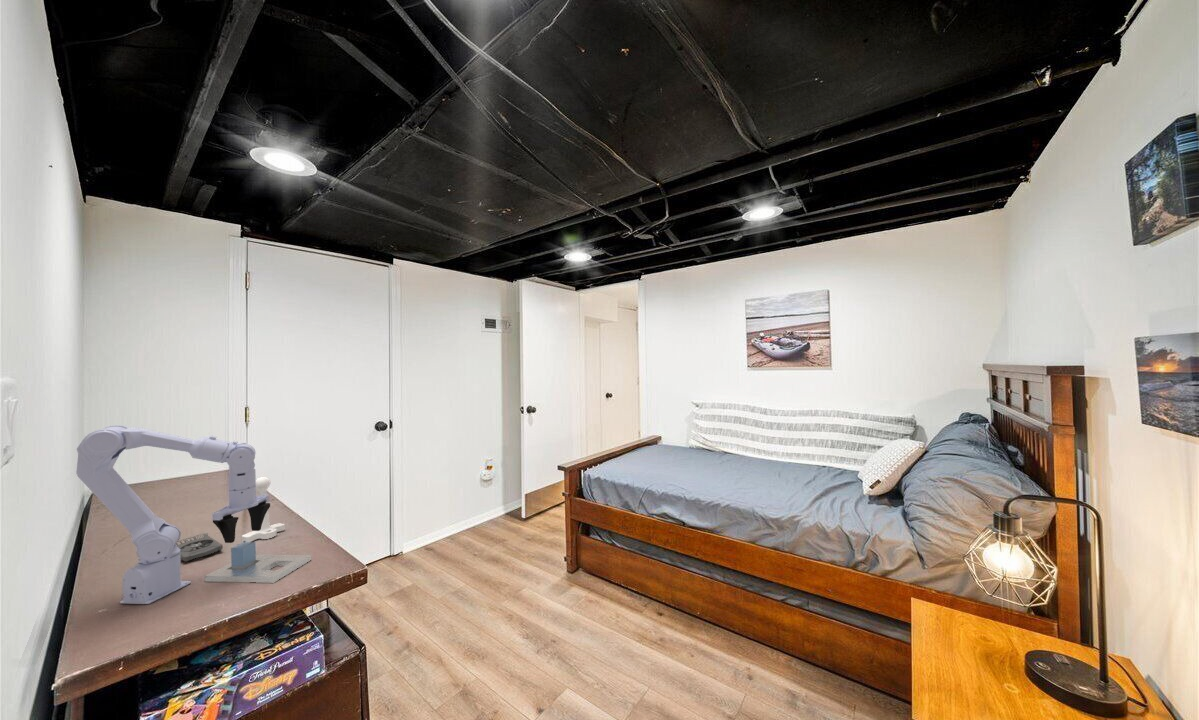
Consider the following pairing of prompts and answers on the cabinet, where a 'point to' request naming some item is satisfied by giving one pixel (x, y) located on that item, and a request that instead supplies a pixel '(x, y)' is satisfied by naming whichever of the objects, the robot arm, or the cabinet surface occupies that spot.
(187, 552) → the graphics card
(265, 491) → the joystick
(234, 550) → the plug
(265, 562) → the panel
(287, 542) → the cabinet surface
